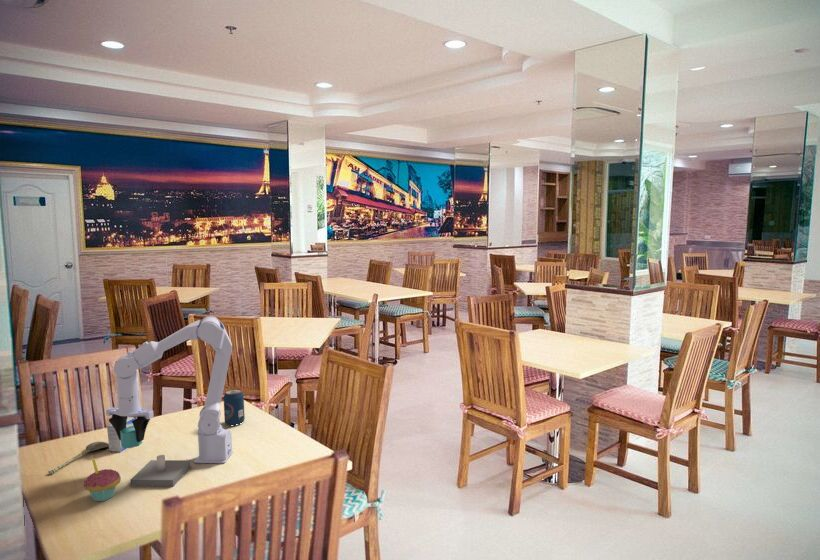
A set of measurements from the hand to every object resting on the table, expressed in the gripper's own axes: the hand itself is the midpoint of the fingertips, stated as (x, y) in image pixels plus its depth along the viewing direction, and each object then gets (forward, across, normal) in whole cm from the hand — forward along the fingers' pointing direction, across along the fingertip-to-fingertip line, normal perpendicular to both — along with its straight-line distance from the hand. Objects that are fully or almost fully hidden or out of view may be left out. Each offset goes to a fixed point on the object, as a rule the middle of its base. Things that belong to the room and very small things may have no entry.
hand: (131, 439), depth 162 cm
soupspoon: (+10, +21, -2) cm, 23 cm away
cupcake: (+9, -4, +16) cm, 19 cm away
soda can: (+9, -12, -38) cm, 41 cm away
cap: (+1, 0, 0) cm, 1 cm away
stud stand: (+9, -12, +3) cm, 15 cm away
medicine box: (+9, +14, -12) cm, 21 cm away
